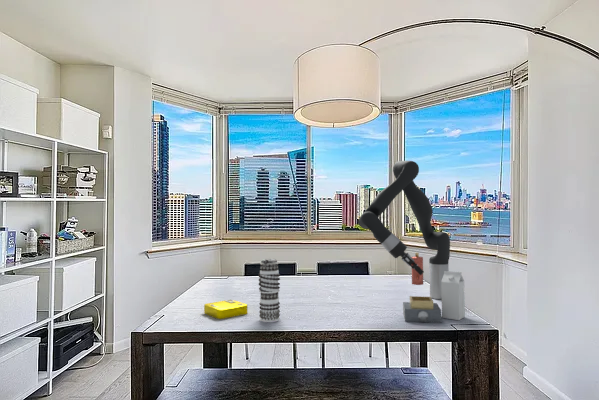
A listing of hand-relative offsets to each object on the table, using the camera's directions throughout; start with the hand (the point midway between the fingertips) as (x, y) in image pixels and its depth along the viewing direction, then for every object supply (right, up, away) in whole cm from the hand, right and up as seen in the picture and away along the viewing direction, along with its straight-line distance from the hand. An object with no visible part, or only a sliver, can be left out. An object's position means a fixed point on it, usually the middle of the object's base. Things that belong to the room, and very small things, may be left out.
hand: (421, 272), depth 183 cm
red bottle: (-2, -5, 0) cm, 6 cm away
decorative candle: (-67, -17, -13) cm, 71 cm away
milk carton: (+9, -17, -13) cm, 23 cm away
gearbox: (-4, -16, -14) cm, 22 cm away
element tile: (-87, -18, -2) cm, 89 cm away
